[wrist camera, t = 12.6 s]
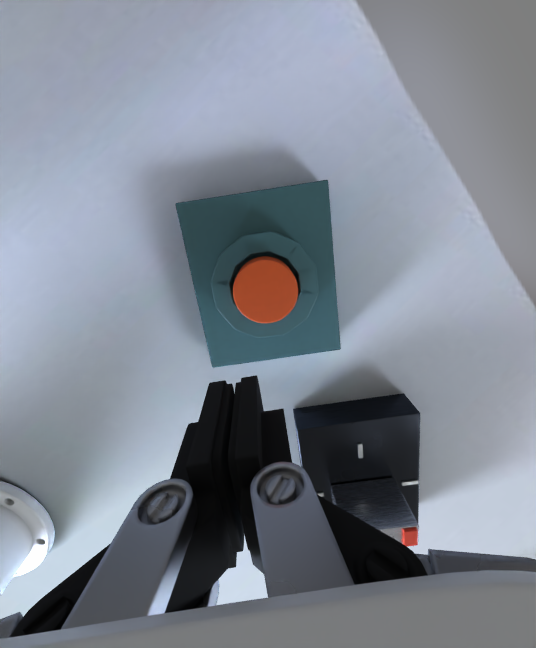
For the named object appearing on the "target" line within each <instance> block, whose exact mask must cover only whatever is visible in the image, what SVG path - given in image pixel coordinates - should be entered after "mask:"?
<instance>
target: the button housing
mask: <svg viewBox="0 0 536 648" xmlns="http://www.w3.org/2000/svg"><path fill="white" fill-rule="evenodd" d="M176 209H177V213H178V218H179V222H180V227H181V231H182V235H183V240H184V244H185V249H186V253H187V258H188V262H189V266H190V271H191V275H192V280H193V284H194V289H195V293H196V297H197V302H198V306H199V311H200V315H201V320H202V324H203V328H204V333H205V337H206V342H207V346H208V350H209V355H210V359H211V364H212V367H213V368H214V367H221V366H228V365H235V364H242V363H249V362H256V361H263V360H270V359H277V358H284V357H291V356H298V355H305V354H312V353H319V352H326V351H333V350H340V349H341V348H340V335H339V321H338V308H337V294H336V281H335V267H334V254H333V241H332V227H331V214H330V200H329V187H328V180H323V181H316V182H310V183H303V184H297V185H291V186H284V187H278V188H271V189H265V190H258V191H252V192H245V193H239V194H233V195H226V196H220V197H213V198H207V199H200V200H194V201H187V202H181V203H176ZM262 256H269V257H274V258H277V259H279V260H281V261H282V262H284V263H285V264H286V265H287V266H288V267H289V268H290V270H291V271H292V273H293V275H294V276H295V278H296V281H297V285H298V298H297V301H296V304H295V306H294V308H293V309H292V311H291V312H290V313H289V314H288V315H287V316H286V317H284V318H283V319H281V320H279V321H276V322H273V323H258V322H255V321H252V320H250V319H248V318H247V317H245V316H244V315H243V314H242V313H241V312H240V311H239V309H238V308H237V306H236V304H235V301H234V298H233V285H234V282H235V279H236V276H237V274H238V272H239V270H240V269H241V268H242V266H243V265H244V264H245V263H247V262H248V261H250V260H252V259H254V258H257V257H262Z"/></svg>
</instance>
